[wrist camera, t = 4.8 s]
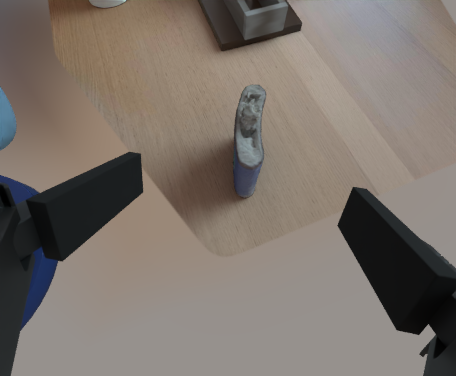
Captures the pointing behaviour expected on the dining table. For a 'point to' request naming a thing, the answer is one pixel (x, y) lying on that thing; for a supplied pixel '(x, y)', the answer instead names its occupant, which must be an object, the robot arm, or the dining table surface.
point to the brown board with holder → (249, 20)
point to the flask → (248, 140)
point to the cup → (106, 3)
